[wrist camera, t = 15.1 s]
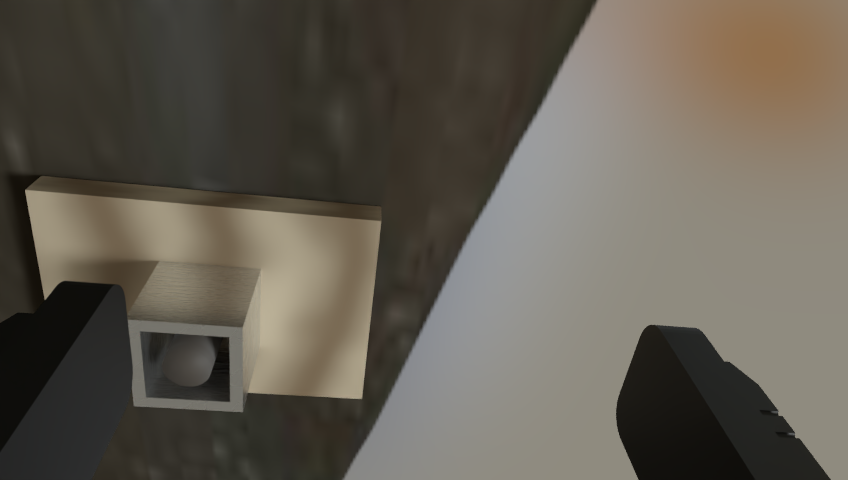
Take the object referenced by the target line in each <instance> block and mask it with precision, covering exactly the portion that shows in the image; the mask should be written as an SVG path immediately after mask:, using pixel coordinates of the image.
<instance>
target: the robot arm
mask: <svg viewBox="0 0 848 480" xmlns="http://www.w3.org/2000/svg"><path fill="white" fill-rule="evenodd" d="M132 380H133V364H132V355H131V346H130V336H129V327H128V318H127V309H126V300H125V294H124V291H123V289H122V287H121V286H120V285H117V284H104V283H90V282H76V281H62V282H60V283H59V284H58V285H57V286H56V287H55V288H54V290H53V291H52V292H51V293H50V295H49V296H48V297H47V298H46V300H45V301H44V302H43V303H42V304H41V306H40V307H39V308H38V309H37V311H36V312H35V313H34V314H31V313H16V314H15V315H13V316H11V317H10V318H8V319H6V320H5V321H3V322H1V323H0V480H91V479H92V477H93V475H94V473H95V471H96V469H97V467H98V465H99V463H100V461H101V459H102V456H103V454H104V452H105V450H106V448H107V446H108V444H109V442H110V440H111V438H112V436H113V434H114V432H115V430H116V428H117V426H118V424H119V422H120V420H121V418H122V416H123V413H124V411H125V409H126V407H127V404H128V401H129V397H130V393H131V387H132ZM616 420H617V427H618V432H619V435H620V438H621V440H622V443H623V445H624V447H625V450H626V452H627V454H628V457H629V459H630V461H631V463H632V466H633V468H634V470H635V473H636V475H637V477H638V479H639V480H831V479H830V478H829V477H828V475H827V474H826V473H825V472H824V470H823V469H822V468H821V466H820V465H819V464H818V462H817V461H816V460H815V458H814V457H813V456H812V454H811V453H810V452H809V450H808V449H807V448H806V447H805V445H804V444H803V443H802V441H801V440H800V439H799V438H795V432H794V431H793V429H792V428H791V427H790V426H789V424H788V423H787V422H786V420H785V419H784V418H783V416H778V410H777V409H776V407H775V406H774V404H773V403H772V402H771V401H770V399H769V398H768V397H767V395H766V394H765V393H764V391H763V390H762V389H761V388H760V386H759V385H758V384H757V383H755V382H754V381H753V380H752V379H750V378H749V377H748V376H747V375H745V374H744V373H743V372H742V371H740V370H739V369H738V368H737V367H735V366H734V365H733V364H731V363H730V362H724V361H723V359H722V358H721V357H720V355H719V354H718V353H717V351H716V350H715V348H714V347H713V346H712V344H711V343H710V342H709V340H708V339H707V337H706V336H705V335H704V334H703V332H702V331H700V330H699V329H697V328H687V327H673V326H660V325H649V326H647V327H646V328H645V329H644V330H643V332H642V334H641V336H640V339H639V341H638V344H637V347H636V350H635V352H634V355H633V358H632V361H631V364H630V366H629V369H628V372H627V375H626V378H625V380H624V383H623V386H622V389H621V391H620V395H619V398H618V402H617V409H616Z"/></svg>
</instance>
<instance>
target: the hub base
mask: <svg viewBox="0 0 848 480" xmlns="http://www.w3.org/2000/svg"><path fill="white" fill-rule="evenodd" d="M25 193H26V199H27V204H28V210H29V215H30V221H31V226H32V232H33V237H34V243H35V248H36V254H37V259H38V265H39V270H40V276H41V282H42V287H43V293H44V298H45V300H46V298H47V297H48V296H49V295H50V293H51V292H52V291H53V290H54V288H55V287H56V286H57V285H58V284H59V283H60V282H62V281H76V282H90V283H104V284H117V285H120V286H121V287H122V289H123V291H124V294H125V300H126V309H127V315H128V313H129V311H130V309H131V308H132V306H133V304H134V303H135V301H136V299H137V298H138V296H139V294H140V293H141V291H142V289H143V288H144V286H145V284H146V282H147V281H148V279H149V277H150V276H151V274H152V272H153V271H154V269H155V267H156V266H157V264H158V262H159V261H170V262H183V263H195V264H207V265H220V266H232V267H245V268H257V269H261V309H260V348H259V352H258V356H257V360H256V364H255V367H254V371H253V375H252V379H251V383H250V387H249V390H248V393H264V394H282V395H300V396H318V397H336V398H354V399H362V392H363V383H364V374H365V365H366V356H367V347H368V337H369V328H370V319H371V310H372V301H373V292H374V283H375V274H376V264H377V255H378V246H379V237H380V228H381V207H380V206H369V205H358V204H347V203H336V202H325V201H314V200H303V199H292V198H281V197H270V196H259V195H248V194H237V193H226V192H215V191H204V190H192V189H181V188H170V187H159V186H148V185H137V184H126V183H115V182H104V181H93V180H82V179H71V178H60V177H49V176H41V177H39V178H38V179H37V180H36V181H35V182H34V183H32V184H31V185H30V186H29V187H28V188H27V189H25ZM222 340H223V337H218V336H203V335H188V334H175V336H174V338H173V340H172V342H171V344H170V347H169V349H168V351H167V353H166V355H165V357H164V360H163V362H162V370H163V372H164V374H165V376H166V377H167V378H168V379H169V380H170V381H172V382H174V383H175V384H178V385H181V386H186V387H193V386H198V385H201V384H203V383H204V382H206V381H207V380H208V378H209V377H210V374H211V372H212V369H213V366H214V363H215V360H216V357H217V354H218V352H219V349H220V346H221V343H222Z"/></svg>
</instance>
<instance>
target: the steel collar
mask: <svg viewBox="0 0 848 480" xmlns="http://www.w3.org/2000/svg"><path fill="white" fill-rule="evenodd" d="M260 309H261V269H257V268H245V267H232V266H220V265H207V264H195V263H183V262H170V261H159V262H158V264H157V266H156V267H155V269H154V271H153V272H152V274H151V276H150V277H149V279H148V281H147V282H146V284H145V286H144V288H143V289H142V291H141V293H140V294H139V296H138V298H137V299H136V301H135V303H134V304H133V306H132V308H131V309H130V311H129V313H128V315H127V318H128V327H129V336H130V346H131V355H132V364H133V380H132V392H133V401H134V406H141V407H160V408H178V409H196V410H214V411H233V412H243V409H244V406H245V402H246V398H247V394H248V390H249V387H250V383H251V379H252V375H253V371H254V367H255V364H256V360H257V356H258V352H259V348H260ZM175 334H188V335H203V336H218V337H223V340H222V343H221V346H220V349H219V352H218V354H217V357H216V360H215V363H214V366H213V369H212V372H211V374H210V377H209V378H208V380H207V381H206V382H204V383H203V384H201V385H198V386H193V387H186V386H181V385H178V384H175V383H174V382H172V381H170V380H169V379H168V378H167V377H166V376H165V374H164V372H163V370H162V362H163V360H164V357H165V355H166V353H167V351H168V349H169V347H170V344H171V342H172V340H173V338H174V336H175Z"/></svg>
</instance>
